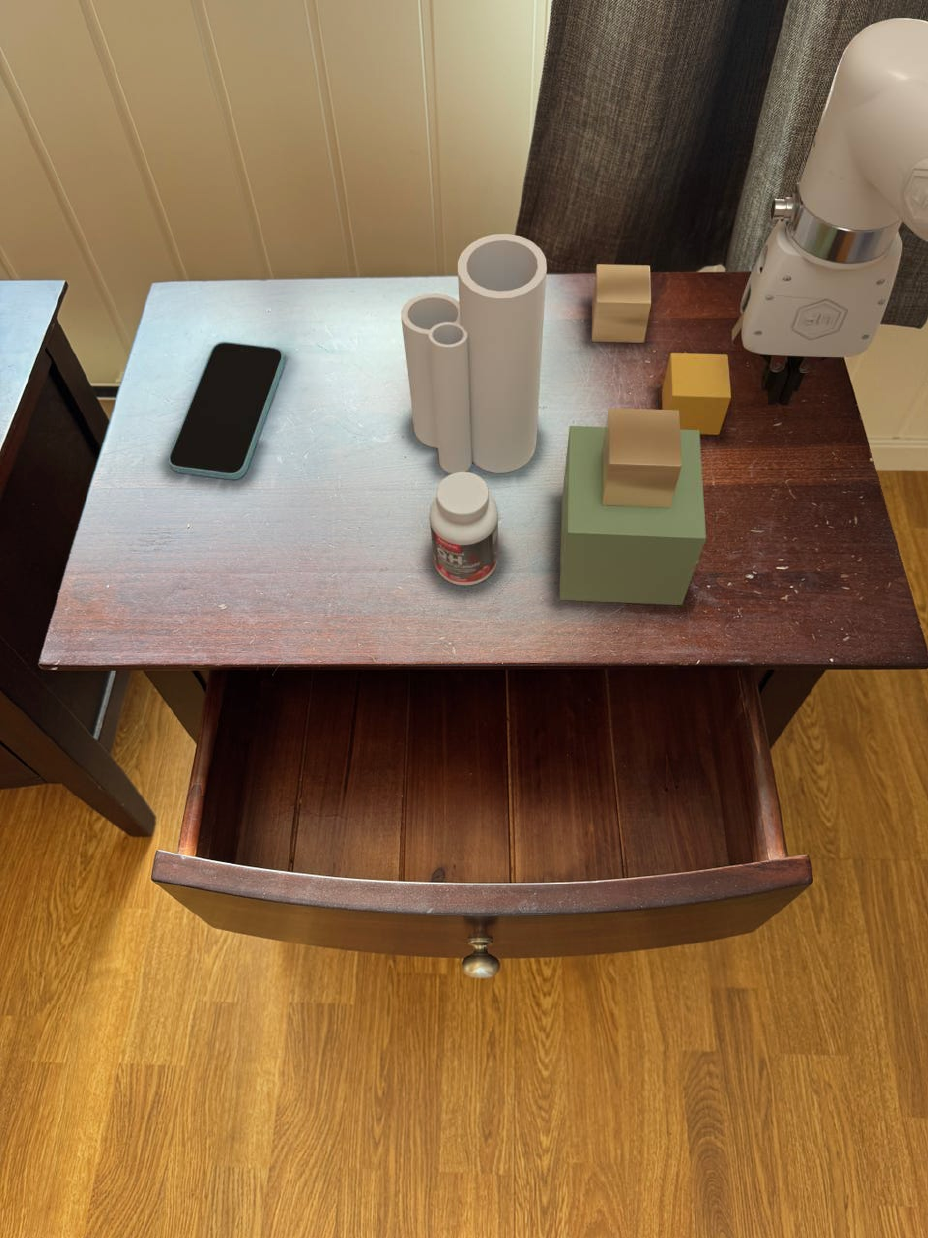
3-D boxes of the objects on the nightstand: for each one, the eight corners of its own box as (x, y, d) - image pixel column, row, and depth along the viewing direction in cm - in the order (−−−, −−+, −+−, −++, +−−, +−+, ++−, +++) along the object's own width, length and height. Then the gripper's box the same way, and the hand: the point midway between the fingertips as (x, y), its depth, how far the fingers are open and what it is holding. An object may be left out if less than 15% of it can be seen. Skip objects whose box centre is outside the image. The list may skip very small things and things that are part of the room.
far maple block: (591, 304, 93) (596, 263, 88) (642, 305, 92) (649, 264, 88) (591, 341, 90) (596, 301, 86) (643, 343, 90) (651, 303, 86)
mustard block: (661, 391, 87) (670, 352, 83) (715, 392, 87) (727, 353, 82) (663, 433, 85) (672, 395, 80) (719, 435, 84) (731, 397, 80)
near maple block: (601, 451, 71) (608, 407, 67) (668, 454, 71) (679, 410, 67) (601, 505, 69) (609, 463, 65) (670, 508, 69) (682, 466, 64)
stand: (561, 500, 82) (569, 425, 73) (677, 505, 81) (699, 429, 72) (559, 600, 77) (567, 532, 68) (682, 605, 76) (706, 538, 67)
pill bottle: (435, 589, 78) (427, 522, 69) (433, 535, 80) (426, 464, 72) (499, 586, 78) (500, 519, 69) (496, 532, 80) (496, 461, 72)
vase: (539, 417, 86) (550, 235, 69) (532, 480, 83) (542, 306, 65) (417, 408, 87) (398, 226, 69) (406, 469, 84) (382, 295, 66)
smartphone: (164, 465, 84) (214, 340, 90) (168, 472, 85) (217, 348, 91) (241, 475, 83) (286, 348, 89) (244, 483, 84) (288, 356, 90)
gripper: (742, 250, 65) (692, 422, 82) (961, 256, 65) (867, 429, 81) (735, 179, 69) (689, 358, 85) (943, 184, 68) (856, 364, 84)
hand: (776, 392), depth 83 cm, fingers closed
